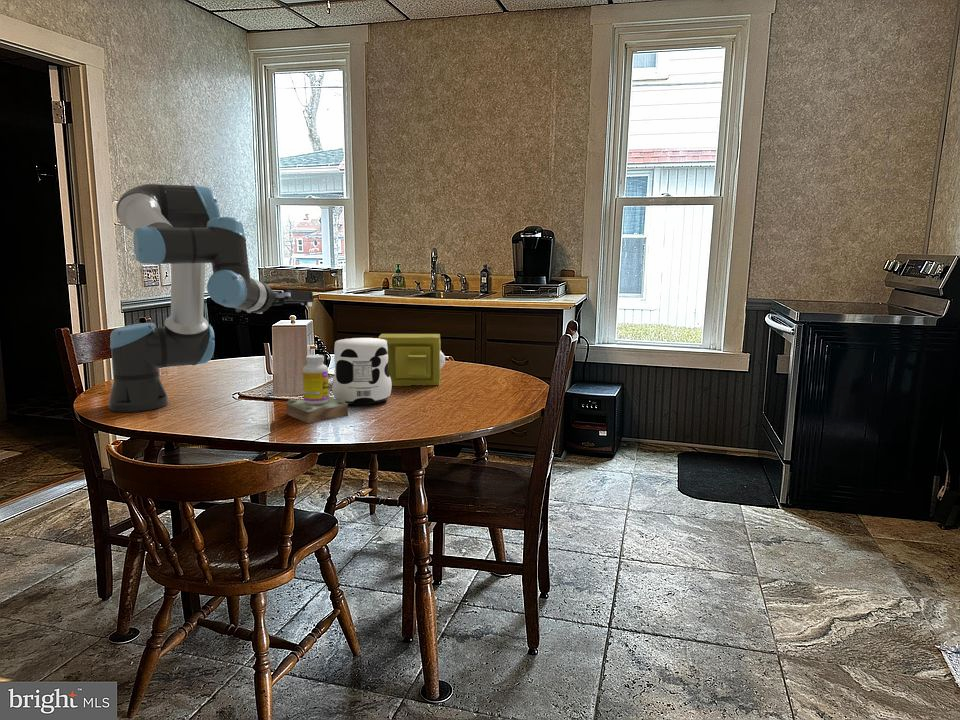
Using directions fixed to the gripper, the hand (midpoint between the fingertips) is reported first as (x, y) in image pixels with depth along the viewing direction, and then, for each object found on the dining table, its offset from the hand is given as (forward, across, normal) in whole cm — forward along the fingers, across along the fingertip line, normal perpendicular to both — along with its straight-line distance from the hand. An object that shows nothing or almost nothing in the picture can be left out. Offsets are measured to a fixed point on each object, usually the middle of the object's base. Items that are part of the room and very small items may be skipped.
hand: (285, 305), depth 179 cm
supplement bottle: (+7, +3, -27) cm, 28 cm away
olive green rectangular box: (+48, +16, -24) cm, 56 cm away
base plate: (+8, +2, -30) cm, 31 cm away
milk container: (+24, +11, -28) cm, 39 cm away
